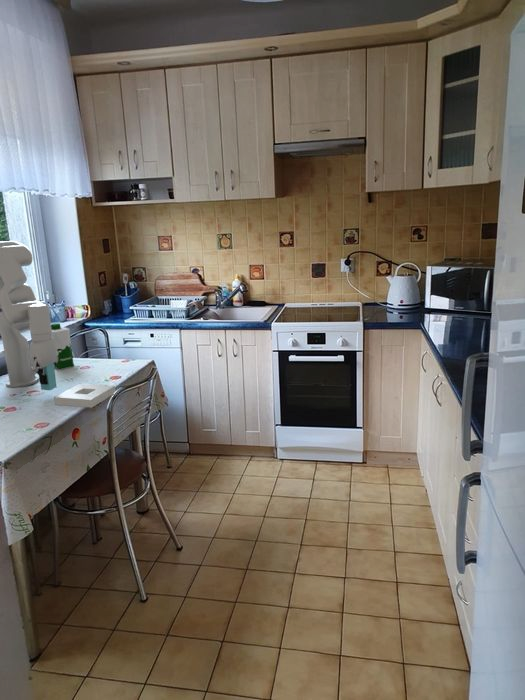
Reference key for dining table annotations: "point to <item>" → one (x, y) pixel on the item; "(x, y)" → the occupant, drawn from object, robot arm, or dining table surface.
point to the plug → (49, 378)
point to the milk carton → (62, 346)
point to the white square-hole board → (84, 395)
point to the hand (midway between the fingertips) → (47, 381)
